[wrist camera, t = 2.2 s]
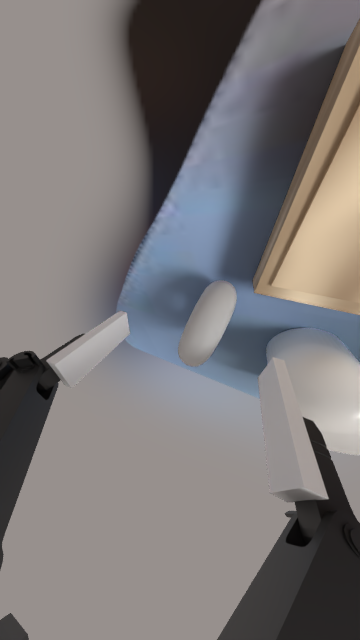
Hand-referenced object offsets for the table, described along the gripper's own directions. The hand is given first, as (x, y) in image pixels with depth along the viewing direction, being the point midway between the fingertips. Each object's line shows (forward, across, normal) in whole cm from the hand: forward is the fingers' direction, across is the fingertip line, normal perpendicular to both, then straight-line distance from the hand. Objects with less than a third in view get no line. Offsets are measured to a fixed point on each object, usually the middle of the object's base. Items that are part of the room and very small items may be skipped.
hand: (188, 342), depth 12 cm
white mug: (+9, -14, +5) cm, 17 cm away
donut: (+9, -1, 0) cm, 9 cm away
